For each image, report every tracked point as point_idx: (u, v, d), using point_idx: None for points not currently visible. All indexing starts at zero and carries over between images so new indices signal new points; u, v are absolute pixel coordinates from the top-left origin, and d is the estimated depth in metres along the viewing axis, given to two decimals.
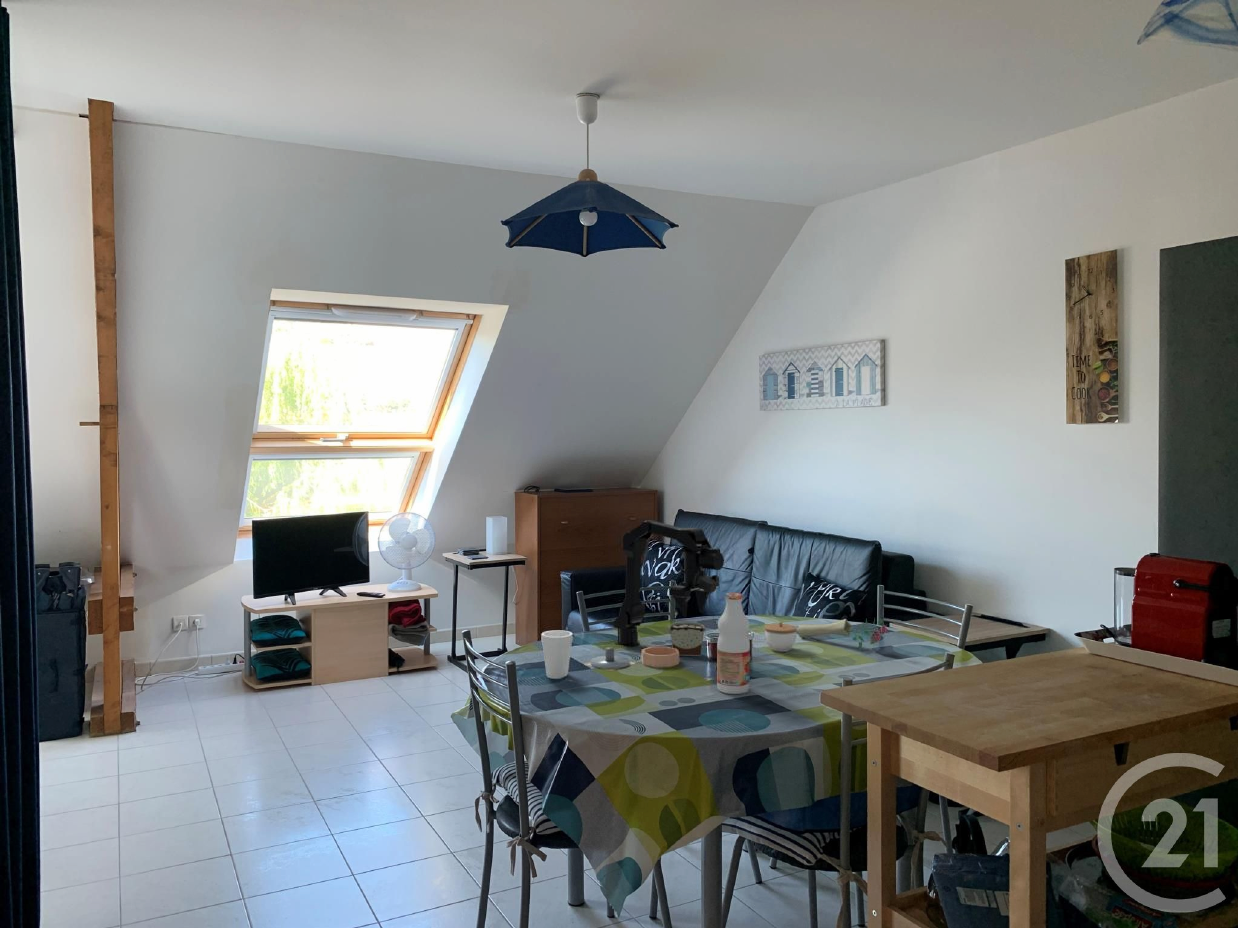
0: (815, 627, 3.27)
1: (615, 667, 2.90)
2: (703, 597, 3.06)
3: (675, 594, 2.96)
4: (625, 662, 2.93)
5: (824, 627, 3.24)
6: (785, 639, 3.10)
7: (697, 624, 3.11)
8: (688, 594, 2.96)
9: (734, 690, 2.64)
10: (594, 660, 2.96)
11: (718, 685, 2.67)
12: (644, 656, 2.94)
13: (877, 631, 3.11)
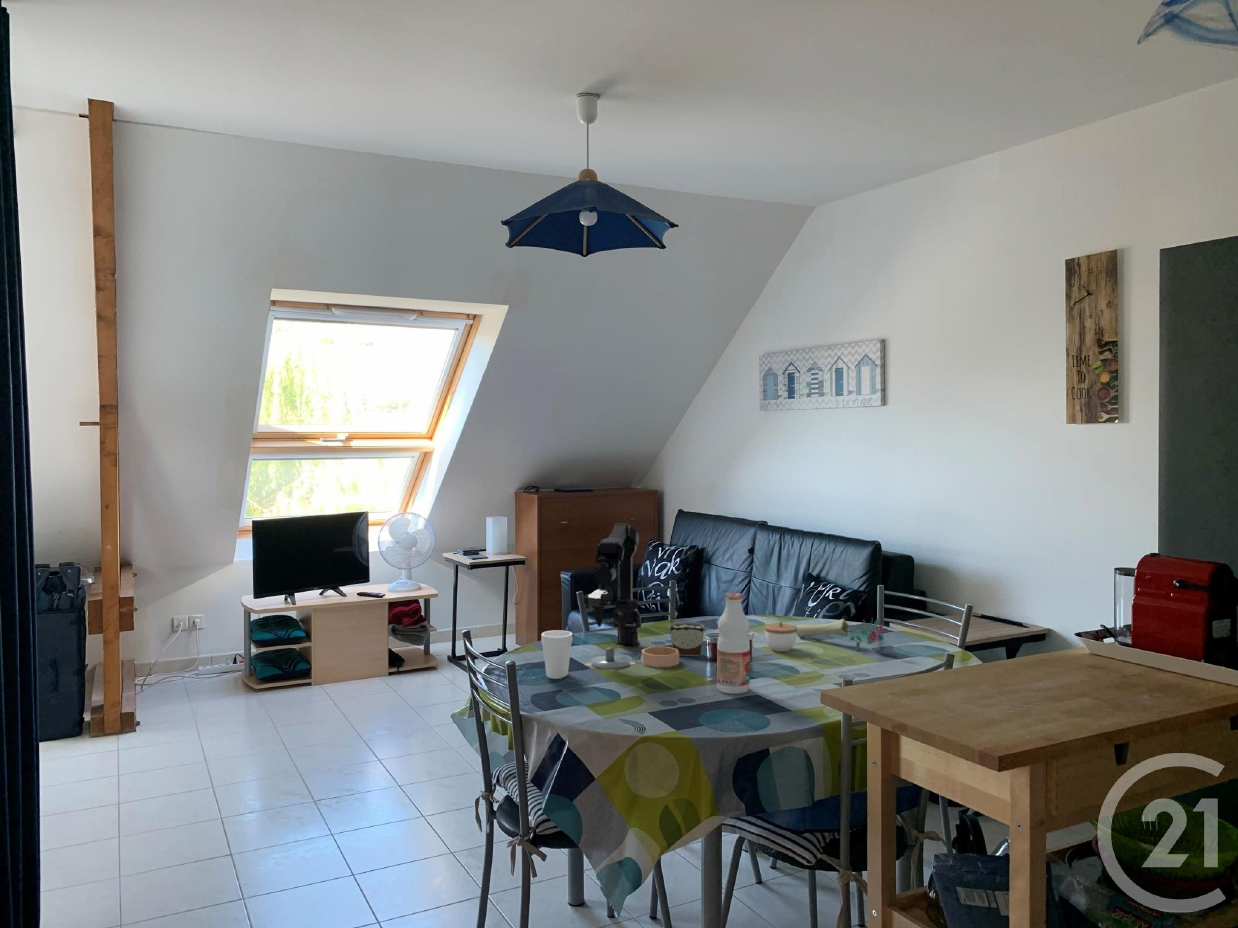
0: (813, 627, 3.27)
1: (615, 667, 2.90)
2: None
3: None
4: (625, 662, 2.93)
5: (822, 627, 3.24)
6: (785, 639, 3.10)
7: (697, 624, 3.11)
8: (588, 602, 2.97)
9: (734, 690, 2.64)
10: (594, 660, 2.96)
11: (718, 685, 2.67)
12: (644, 656, 2.94)
13: None
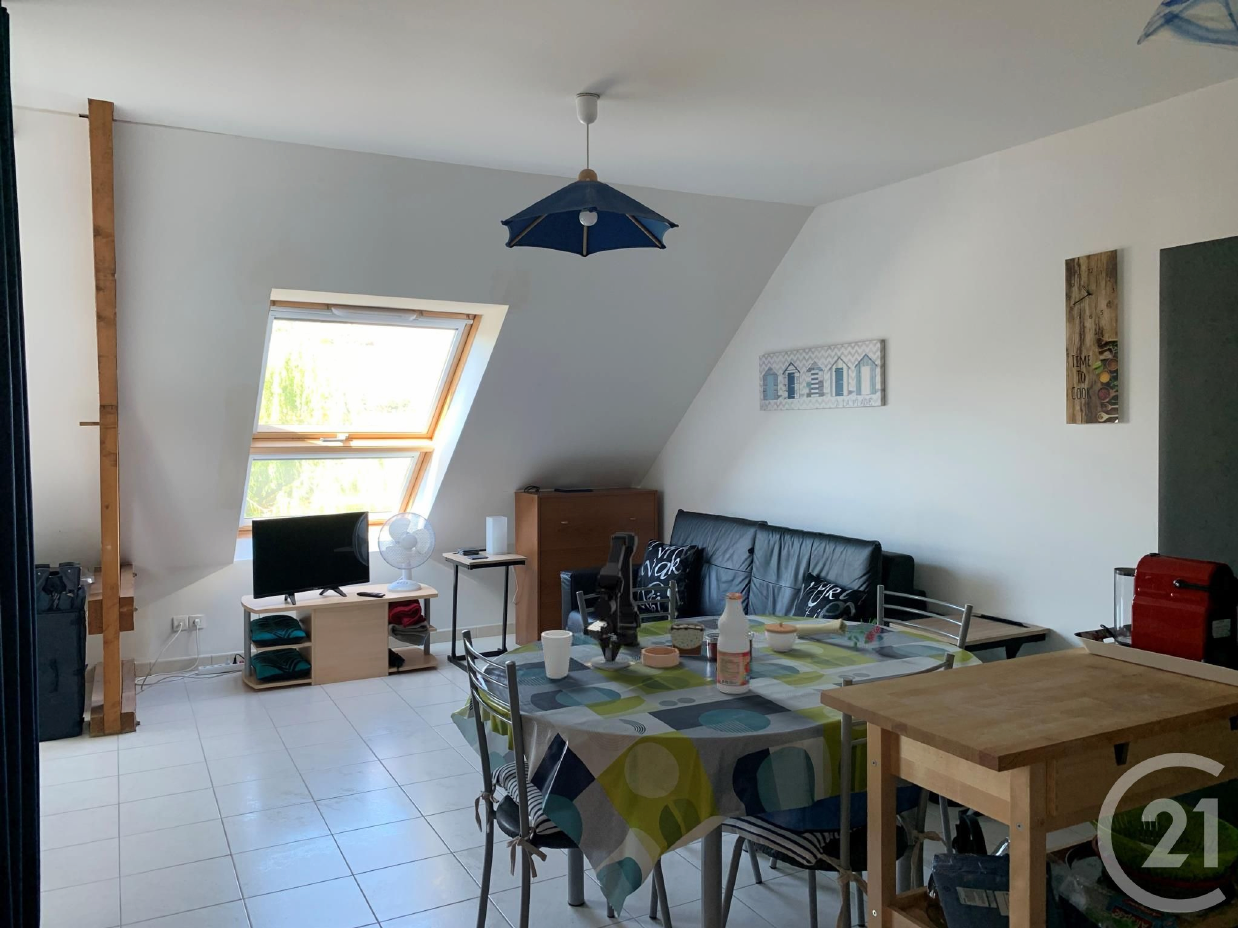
0: (811, 626, 3.27)
1: (615, 667, 2.90)
2: None
3: None
4: (625, 662, 2.93)
5: (820, 627, 3.25)
6: (785, 639, 3.10)
7: (697, 624, 3.11)
8: (587, 633, 2.97)
9: (734, 690, 2.64)
10: (594, 660, 2.96)
11: (718, 685, 2.67)
12: (644, 656, 2.94)
13: (872, 631, 3.11)
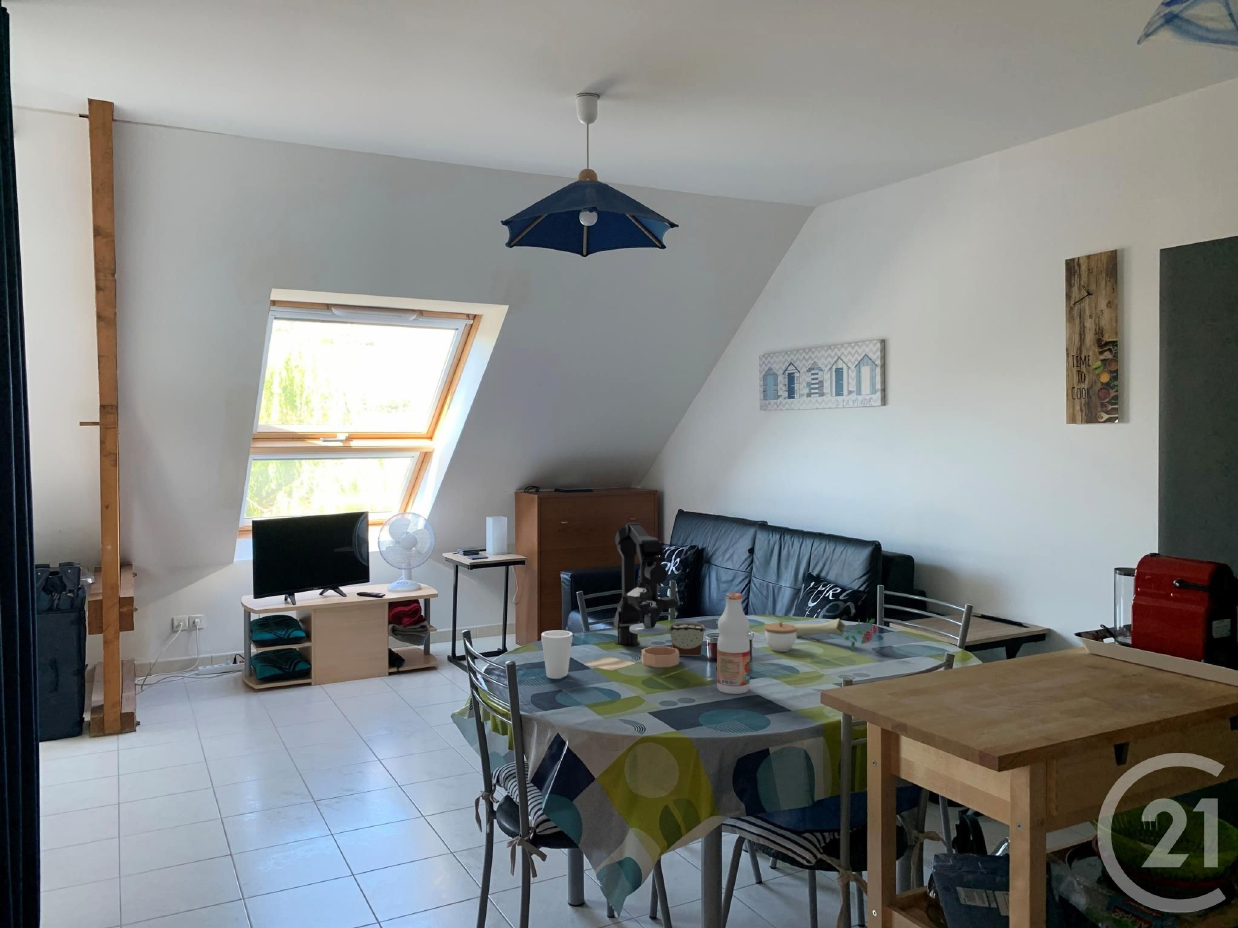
0: (809, 626, 3.28)
1: (654, 633, 2.90)
2: None
3: None
4: (664, 629, 2.94)
5: (818, 626, 3.25)
6: (785, 639, 3.10)
7: (697, 624, 3.11)
8: (627, 600, 2.98)
9: (734, 690, 2.64)
10: (633, 627, 2.97)
11: (718, 685, 2.67)
12: (644, 656, 2.94)
13: (869, 631, 3.11)
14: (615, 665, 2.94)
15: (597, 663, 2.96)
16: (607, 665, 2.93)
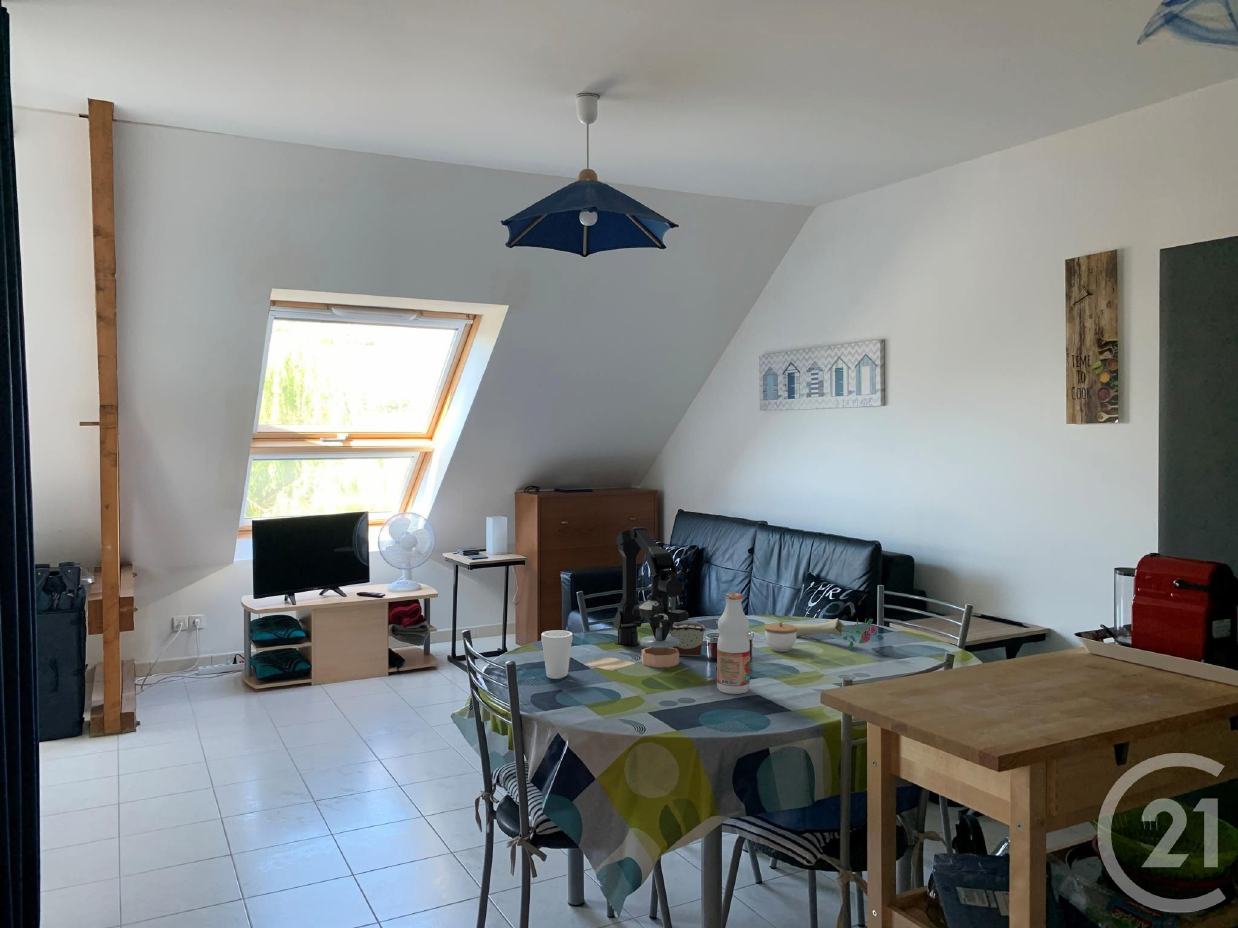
0: (808, 626, 3.28)
1: (666, 646, 2.91)
2: None
3: None
4: (675, 641, 2.95)
5: (817, 626, 3.25)
6: (785, 639, 3.10)
7: (697, 624, 3.11)
8: (638, 613, 2.99)
9: (734, 690, 2.64)
10: (644, 639, 2.97)
11: (718, 685, 2.67)
12: (644, 656, 2.94)
13: (867, 631, 3.12)
14: (615, 665, 2.94)
15: (597, 663, 2.96)
16: (607, 665, 2.93)
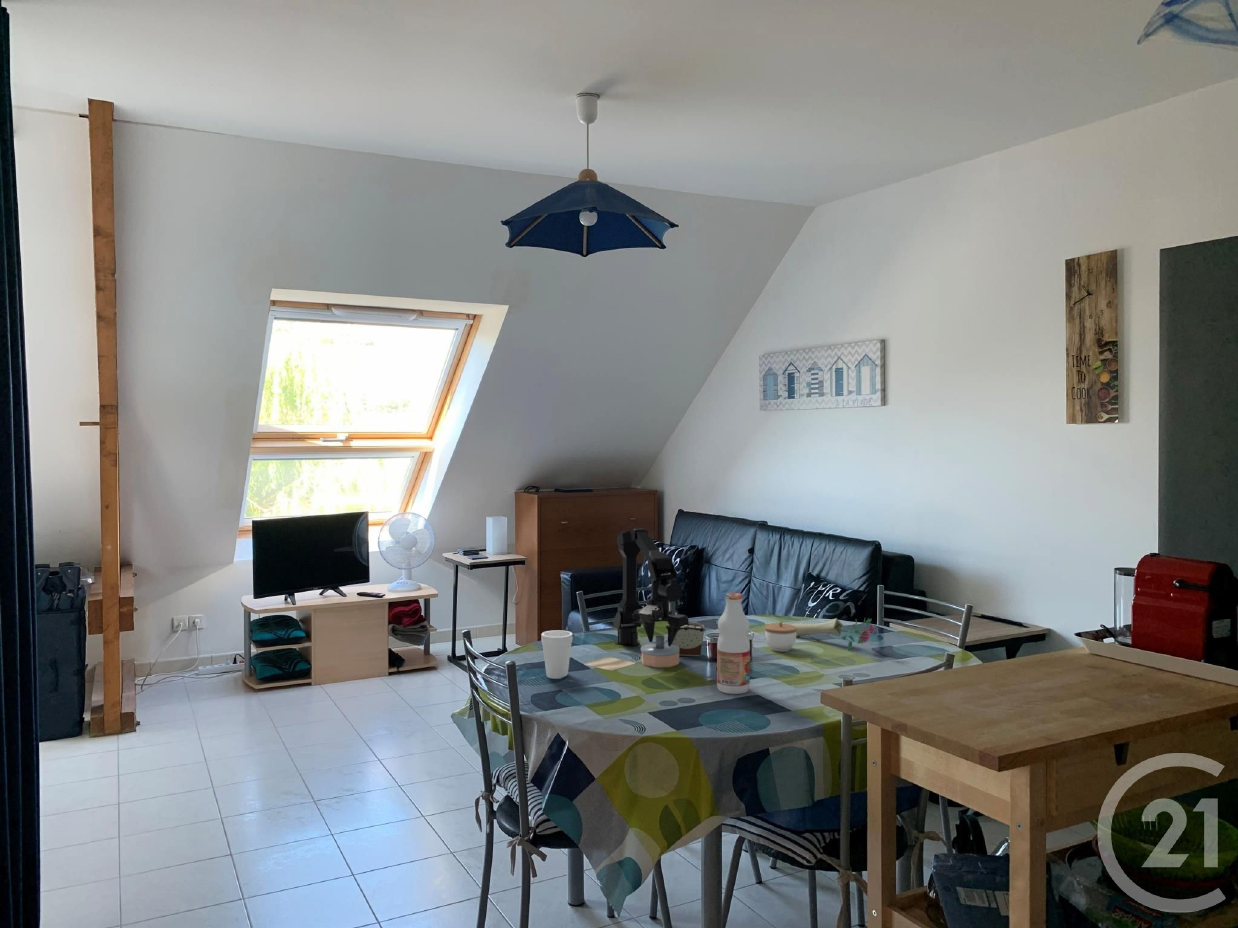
0: (807, 626, 3.28)
1: (666, 654, 2.91)
2: None
3: None
4: (675, 649, 2.95)
5: (816, 626, 3.26)
6: (785, 639, 3.10)
7: (697, 624, 3.11)
8: (638, 618, 2.99)
9: (734, 690, 2.64)
10: (644, 647, 2.97)
11: (718, 685, 2.67)
12: (644, 656, 2.94)
13: None
14: (615, 665, 2.94)
15: (597, 663, 2.96)
16: (607, 665, 2.93)
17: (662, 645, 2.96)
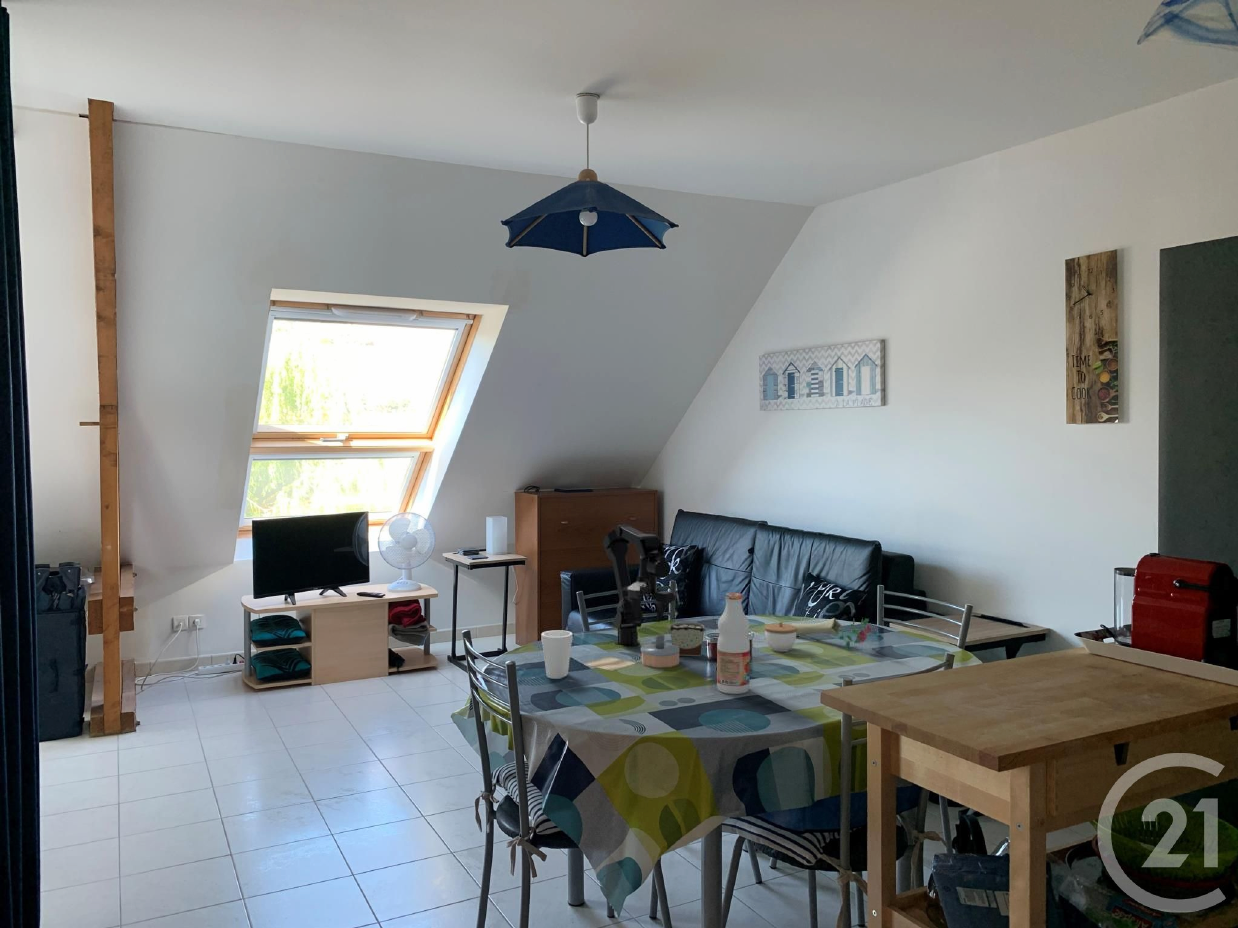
0: (806, 626, 3.29)
1: (666, 654, 2.91)
2: None
3: None
4: (675, 649, 2.95)
5: (814, 626, 3.26)
6: (785, 639, 3.10)
7: (697, 624, 3.11)
8: (626, 594, 3.09)
9: (734, 690, 2.64)
10: (644, 647, 2.97)
11: (718, 685, 2.67)
12: (644, 656, 2.94)
13: (863, 631, 3.12)
14: (615, 665, 2.94)
15: (597, 663, 2.96)
16: (607, 665, 2.93)
17: (662, 645, 2.96)
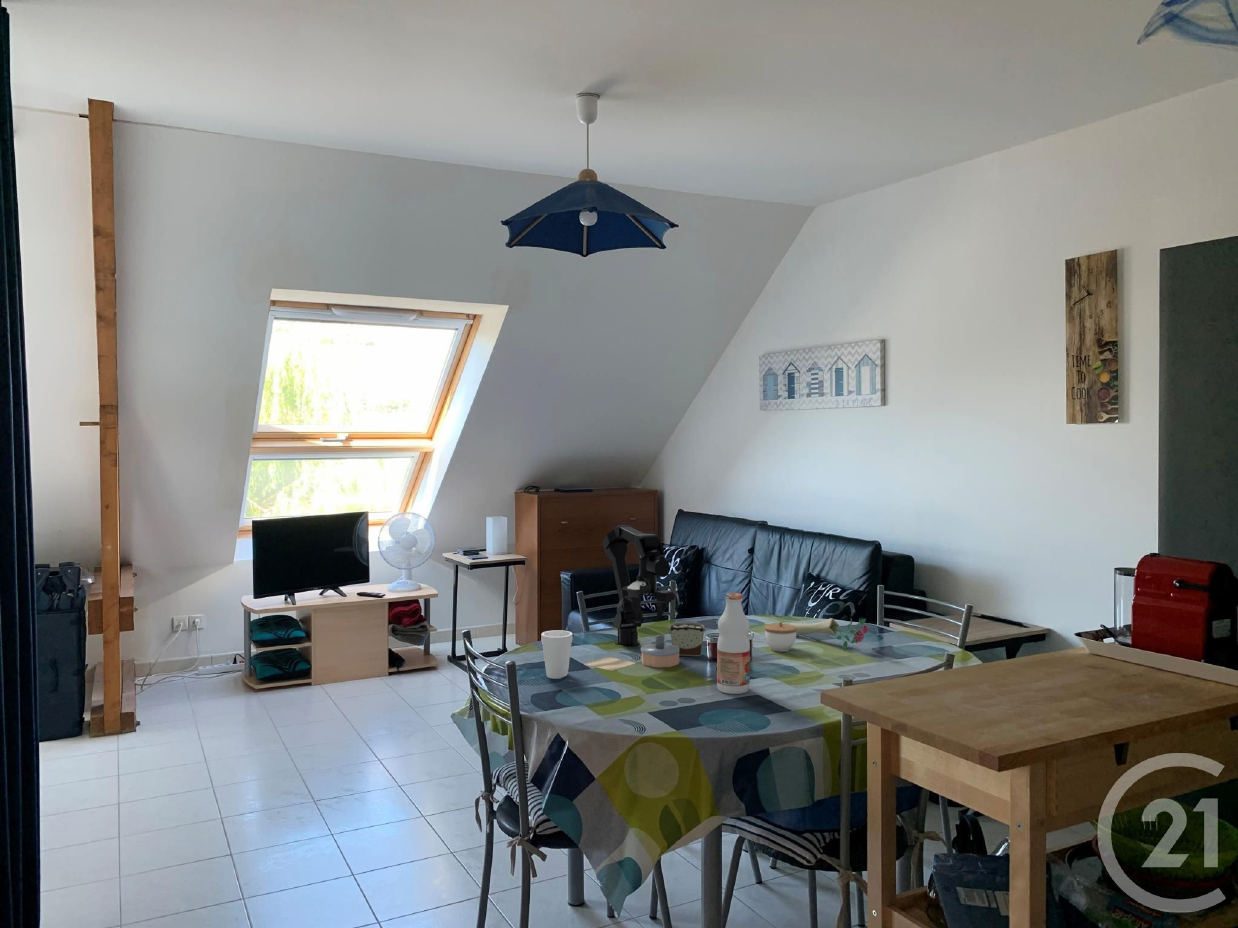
0: (804, 625, 3.29)
1: (666, 654, 2.91)
2: None
3: None
4: (675, 649, 2.95)
5: (812, 625, 3.26)
6: (785, 639, 3.10)
7: (697, 624, 3.11)
8: (626, 594, 3.10)
9: (734, 690, 2.64)
10: (644, 647, 2.97)
11: (718, 685, 2.67)
12: (644, 656, 2.94)
13: (861, 631, 3.12)
14: (615, 665, 2.94)
15: (597, 663, 2.96)
16: (607, 665, 2.93)
17: (662, 645, 2.96)
